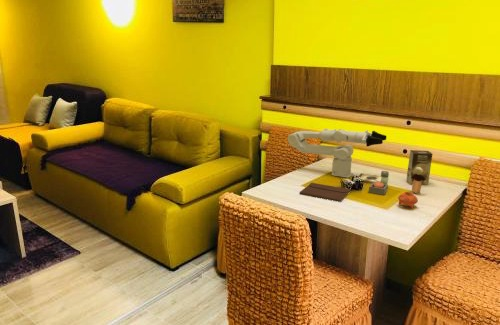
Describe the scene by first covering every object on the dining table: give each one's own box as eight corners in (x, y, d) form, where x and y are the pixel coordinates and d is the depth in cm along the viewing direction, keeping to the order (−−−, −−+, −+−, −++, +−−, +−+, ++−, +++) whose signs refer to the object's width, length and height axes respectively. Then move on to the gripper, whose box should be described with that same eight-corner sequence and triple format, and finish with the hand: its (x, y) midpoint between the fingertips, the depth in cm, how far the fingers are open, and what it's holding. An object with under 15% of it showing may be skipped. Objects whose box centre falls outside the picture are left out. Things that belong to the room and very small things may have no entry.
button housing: (368, 192, 191) (369, 186, 190) (372, 188, 197) (372, 182, 196) (384, 195, 188) (384, 189, 187) (387, 190, 193) (387, 184, 193)
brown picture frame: (354, 181, 207) (354, 179, 207) (361, 174, 217) (361, 172, 217) (382, 185, 201) (383, 183, 200) (388, 178, 211) (388, 176, 210)
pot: (399, 200, 181) (404, 187, 178) (416, 208, 177) (422, 195, 174) (392, 205, 175) (398, 191, 172) (410, 213, 171) (416, 199, 168)
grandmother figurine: (407, 193, 190) (410, 167, 187) (408, 190, 194) (411, 164, 190) (424, 195, 187) (428, 169, 184) (425, 193, 190) (429, 167, 187)
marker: (379, 188, 197) (380, 172, 195) (380, 186, 200) (382, 170, 198) (386, 189, 195) (387, 173, 193) (387, 187, 198) (389, 171, 196)
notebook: (340, 203, 180) (340, 199, 179) (299, 195, 189) (299, 191, 189) (350, 192, 192) (351, 188, 192) (311, 185, 202) (311, 182, 201)
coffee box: (409, 184, 202) (413, 153, 198) (406, 180, 208) (409, 149, 204) (428, 185, 201) (432, 153, 197) (424, 180, 207) (428, 150, 203)
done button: (372, 189, 191) (372, 184, 190) (374, 186, 195) (375, 181, 194) (382, 190, 189) (382, 185, 188) (384, 188, 193) (384, 183, 192)
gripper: (353, 132, 201) (381, 135, 194) (361, 126, 213) (388, 128, 206) (352, 146, 203) (380, 149, 196) (361, 139, 215) (387, 142, 208)
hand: (384, 139), depth 201 cm, fingers open, 7 cm apart
